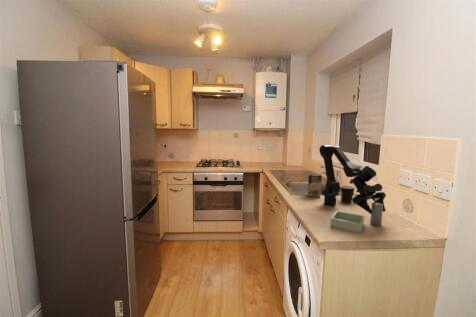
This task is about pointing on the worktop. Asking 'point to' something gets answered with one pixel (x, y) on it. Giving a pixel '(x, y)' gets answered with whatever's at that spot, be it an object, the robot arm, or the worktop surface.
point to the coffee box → (314, 185)
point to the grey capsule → (376, 214)
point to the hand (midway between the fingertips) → (378, 212)
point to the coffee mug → (347, 193)
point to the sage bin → (347, 221)
